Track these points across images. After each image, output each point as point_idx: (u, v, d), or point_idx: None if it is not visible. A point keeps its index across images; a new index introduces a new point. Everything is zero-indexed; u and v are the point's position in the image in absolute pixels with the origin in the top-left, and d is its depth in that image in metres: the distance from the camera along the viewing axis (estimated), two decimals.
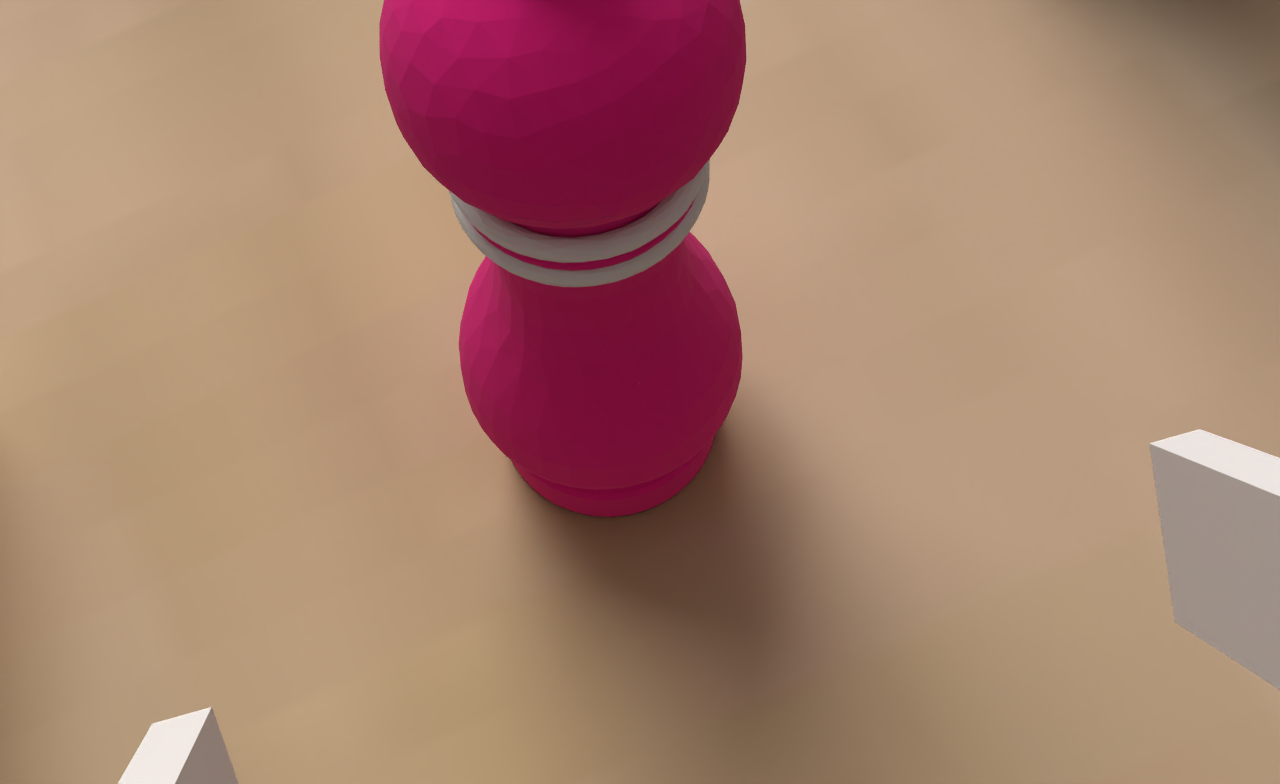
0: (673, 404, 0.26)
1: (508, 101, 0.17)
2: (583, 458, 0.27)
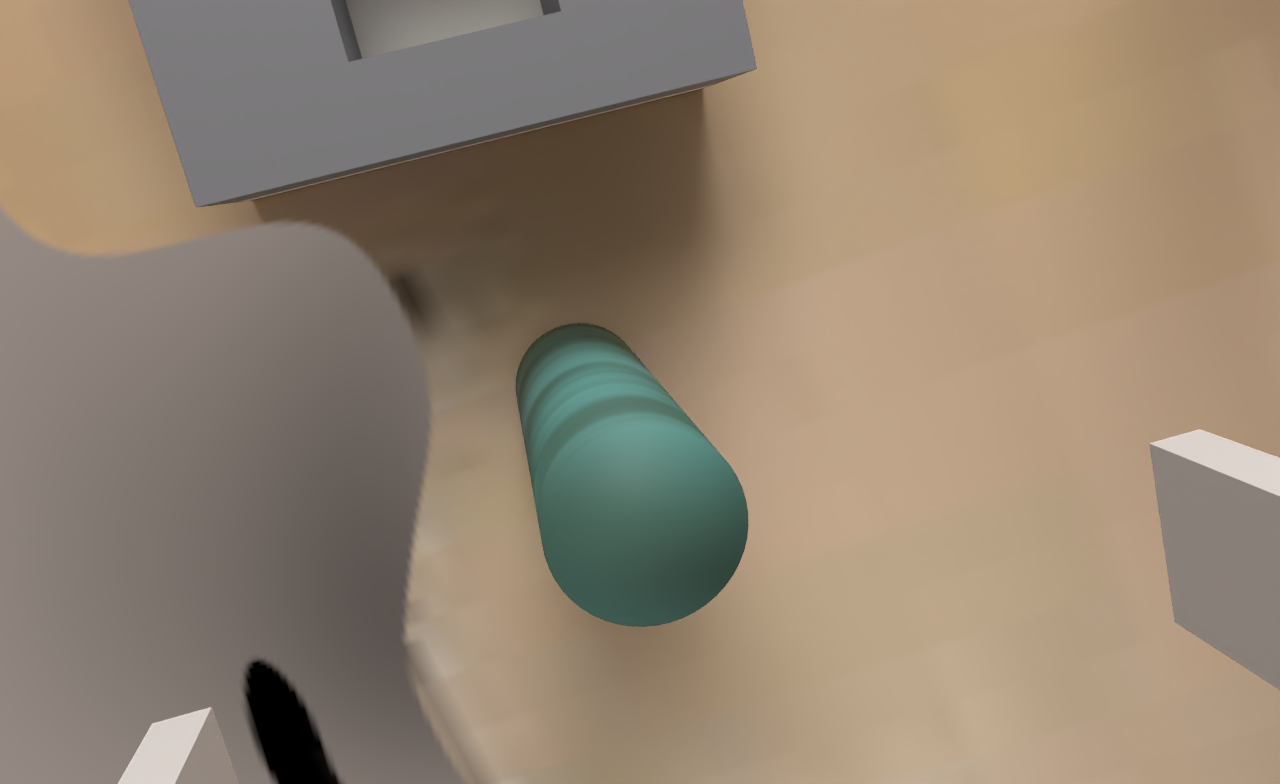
0: None
1: None
2: None
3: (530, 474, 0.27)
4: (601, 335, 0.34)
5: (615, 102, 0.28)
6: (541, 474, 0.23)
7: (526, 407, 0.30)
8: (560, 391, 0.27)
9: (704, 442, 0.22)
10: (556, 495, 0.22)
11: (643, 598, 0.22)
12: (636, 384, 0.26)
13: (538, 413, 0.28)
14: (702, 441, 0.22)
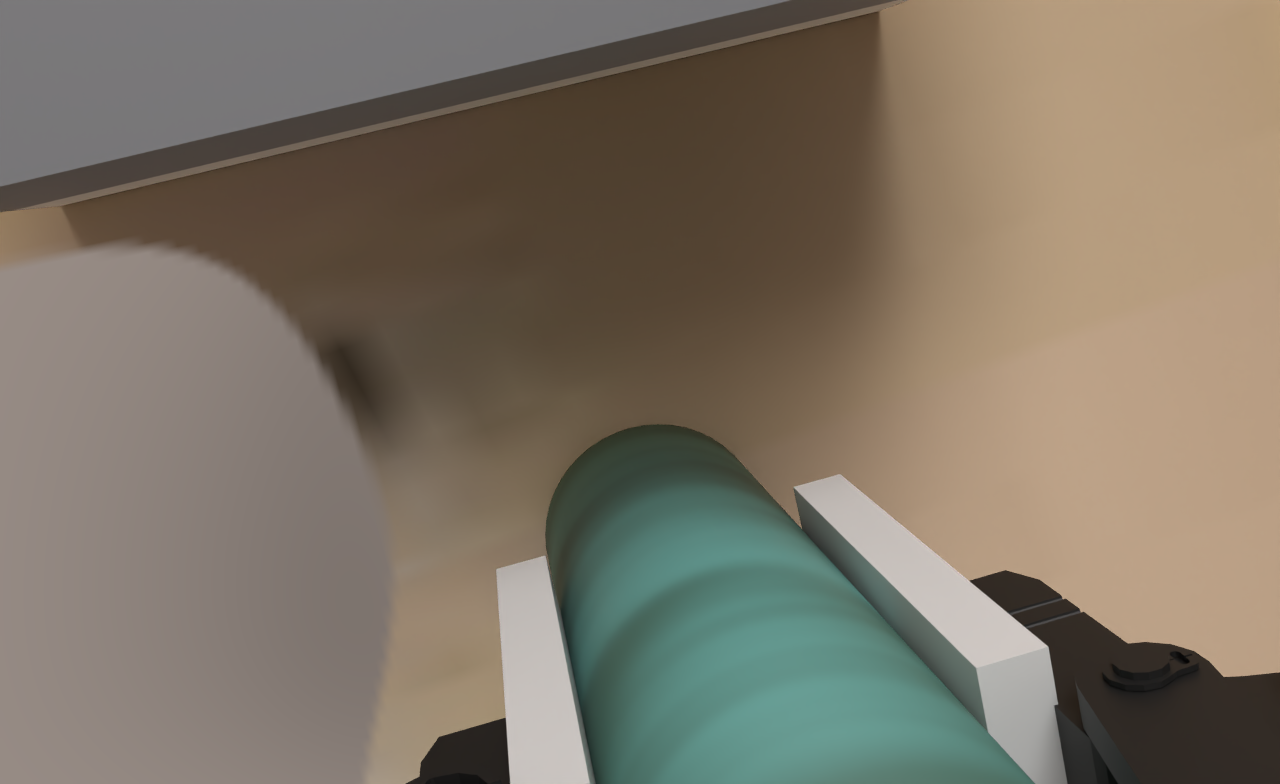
0: None
1: None
2: None
3: None
4: (709, 459, 0.18)
5: None
6: None
7: (583, 639, 0.15)
8: (680, 665, 0.12)
9: None
10: None
11: None
12: (879, 674, 0.11)
13: (625, 706, 0.12)
14: None
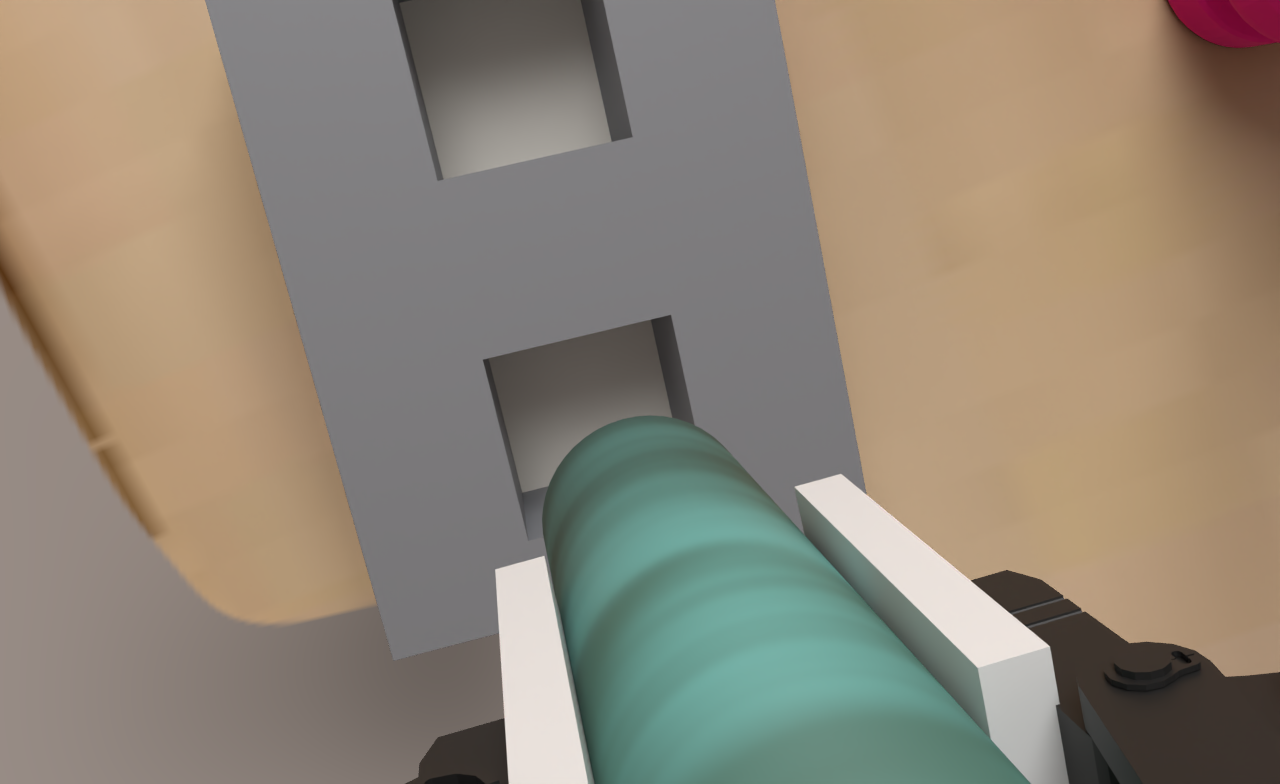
0: None
1: None
2: None
3: None
4: (697, 448, 0.19)
5: None
6: None
7: (575, 615, 0.16)
8: (664, 632, 0.12)
9: None
10: None
11: None
12: (847, 638, 0.12)
13: (613, 672, 0.13)
14: None
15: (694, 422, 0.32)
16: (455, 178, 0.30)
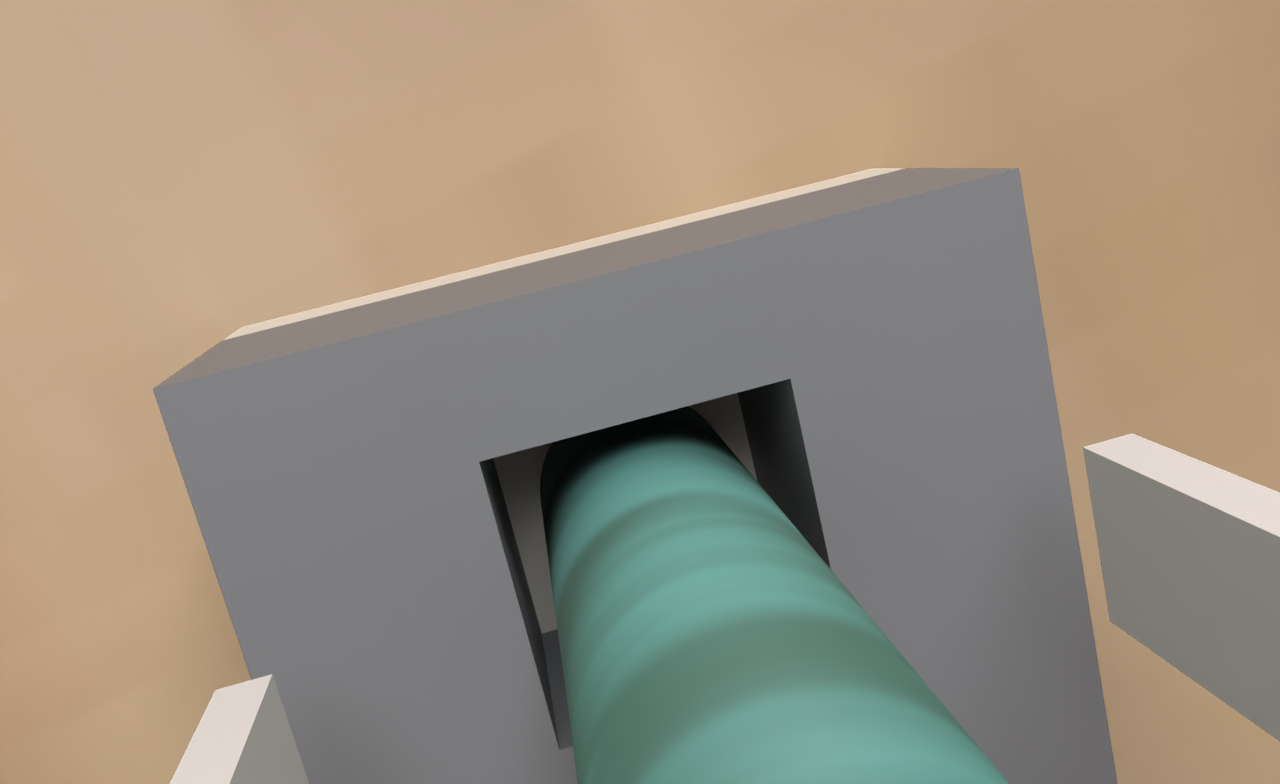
0: None
1: None
2: None
3: (571, 729, 0.14)
4: (677, 419, 0.21)
5: None
6: None
7: (559, 560, 0.18)
8: (627, 564, 0.14)
9: None
10: None
11: None
12: (778, 564, 0.13)
13: (584, 599, 0.15)
14: None
15: None
16: None
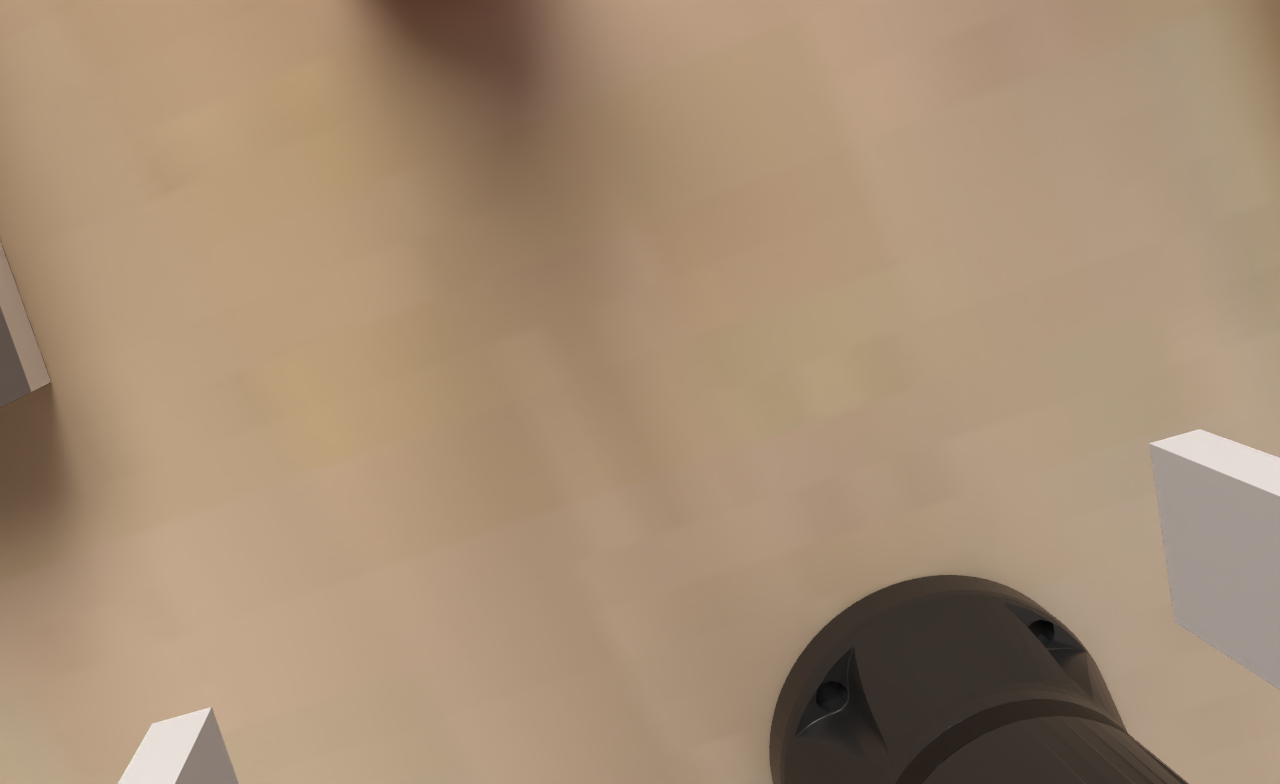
0: None
1: None
2: None
3: None
4: None
5: None
6: None
7: None
8: None
9: None
10: None
11: None
12: None
13: None
14: None
15: None
16: None
